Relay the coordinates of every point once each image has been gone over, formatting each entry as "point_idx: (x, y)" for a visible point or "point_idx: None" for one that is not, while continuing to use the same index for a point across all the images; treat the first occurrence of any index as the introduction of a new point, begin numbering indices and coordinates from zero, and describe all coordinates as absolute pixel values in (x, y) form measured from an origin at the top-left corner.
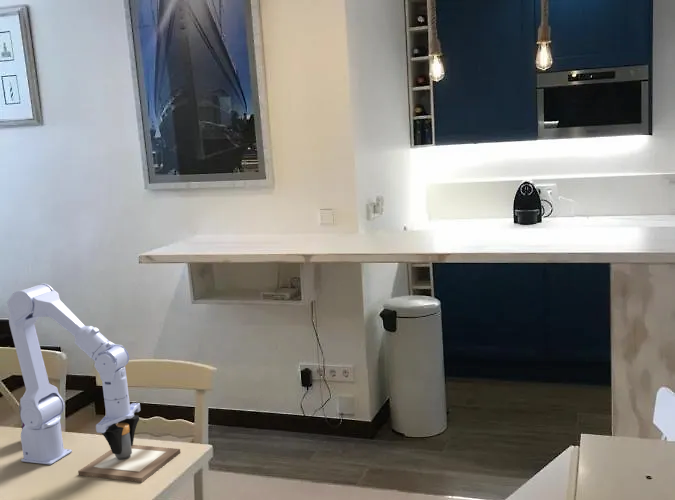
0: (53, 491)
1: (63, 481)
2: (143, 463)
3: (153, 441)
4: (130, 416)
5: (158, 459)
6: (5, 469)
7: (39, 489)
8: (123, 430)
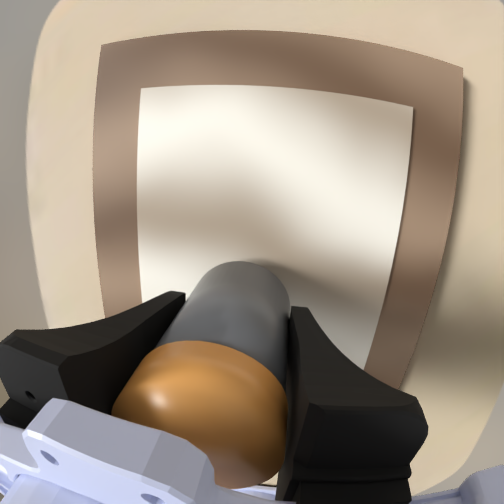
0: (485, 395)
1: (425, 413)
2: (313, 129)
3: (44, 258)
4: (158, 469)
5: (235, 73)
6: None
7: (460, 434)
8: (251, 390)
